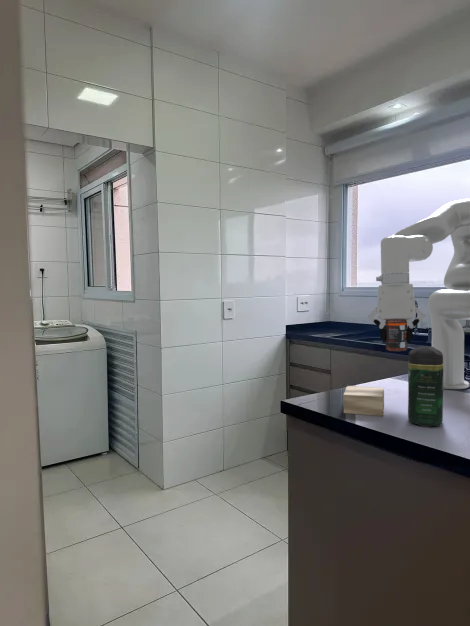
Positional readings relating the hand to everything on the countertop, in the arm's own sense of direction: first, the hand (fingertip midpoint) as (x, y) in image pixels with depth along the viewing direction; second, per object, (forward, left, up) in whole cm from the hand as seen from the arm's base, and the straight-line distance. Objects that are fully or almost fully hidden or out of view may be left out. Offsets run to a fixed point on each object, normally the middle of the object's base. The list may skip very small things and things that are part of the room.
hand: (396, 341), depth 122 cm
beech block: (+11, -8, -17) cm, 22 cm away
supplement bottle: (0, 0, -3) cm, 3 cm away
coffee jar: (+18, +7, -18) cm, 26 cm away
